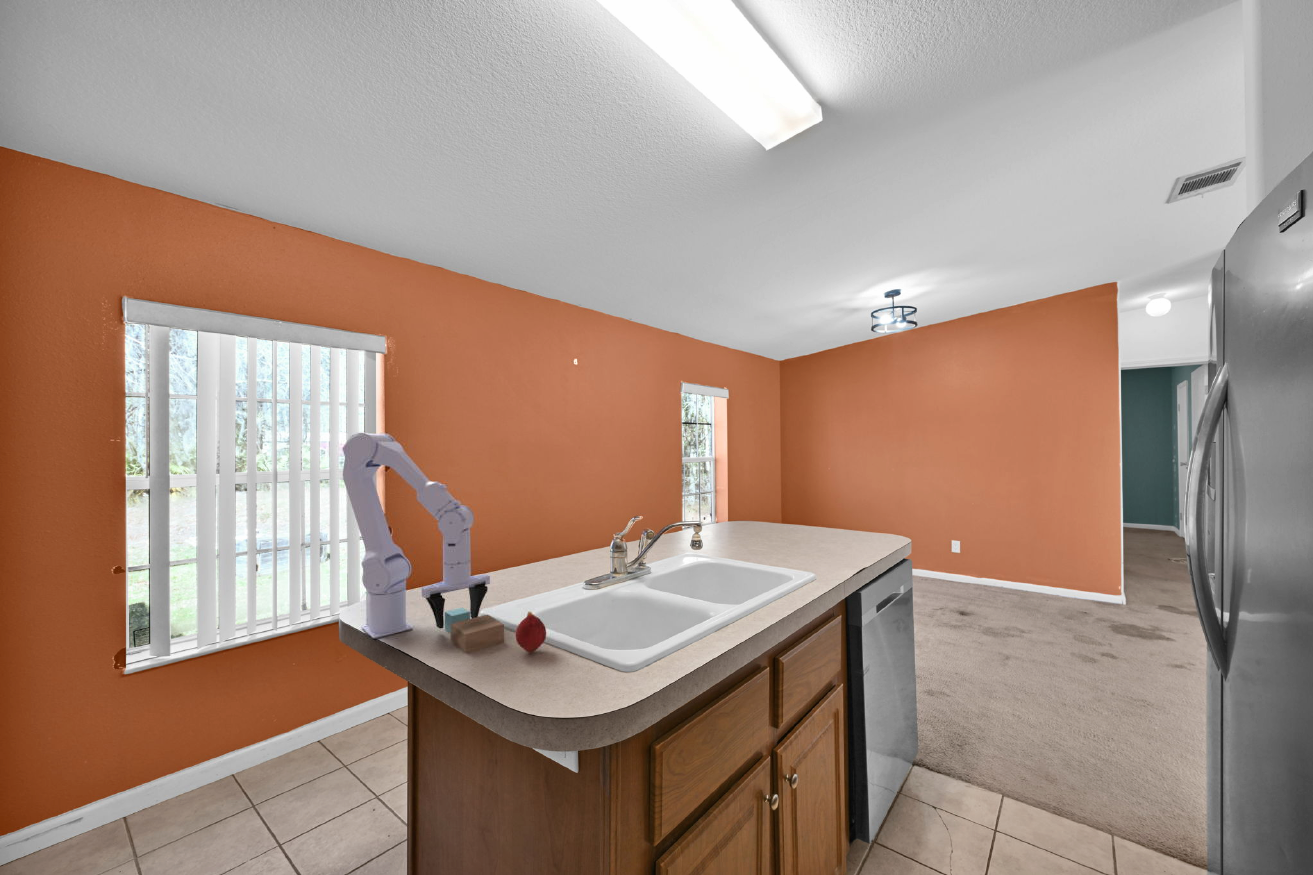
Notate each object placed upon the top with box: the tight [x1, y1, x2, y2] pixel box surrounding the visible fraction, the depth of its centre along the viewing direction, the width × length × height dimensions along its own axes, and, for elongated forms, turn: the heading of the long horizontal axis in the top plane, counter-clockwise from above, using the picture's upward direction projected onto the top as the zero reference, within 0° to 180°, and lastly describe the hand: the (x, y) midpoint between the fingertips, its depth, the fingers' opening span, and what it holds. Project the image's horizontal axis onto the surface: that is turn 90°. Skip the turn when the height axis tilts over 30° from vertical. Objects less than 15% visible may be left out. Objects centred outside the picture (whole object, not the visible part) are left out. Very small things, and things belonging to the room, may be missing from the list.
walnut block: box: [450, 614, 505, 654], centre depth 104 cm, size 8×8×4 cm
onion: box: [515, 611, 547, 654], centre depth 98 cm, size 6×6×8 cm
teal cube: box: [444, 607, 471, 634], centre depth 111 cm, size 4×4×4 cm
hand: (457, 622), depth 111 cm, fingers open, 7 cm apart
